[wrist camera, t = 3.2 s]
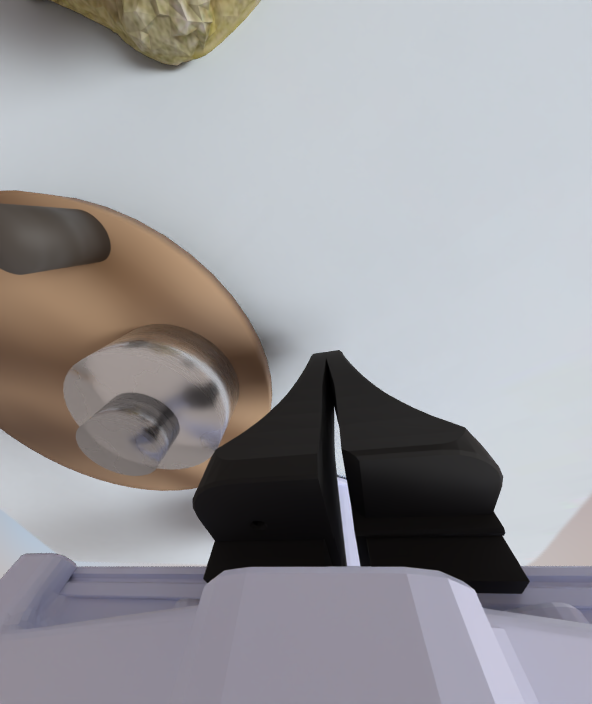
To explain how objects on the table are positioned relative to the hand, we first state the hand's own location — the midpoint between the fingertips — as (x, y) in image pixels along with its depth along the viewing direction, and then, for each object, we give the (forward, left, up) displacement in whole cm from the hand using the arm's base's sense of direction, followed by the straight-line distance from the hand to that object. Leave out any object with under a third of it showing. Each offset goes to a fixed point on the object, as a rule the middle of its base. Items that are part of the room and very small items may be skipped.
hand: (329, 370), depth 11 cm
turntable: (-7, +12, -2) cm, 14 cm away
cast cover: (-4, +7, -1) cm, 9 cm away
